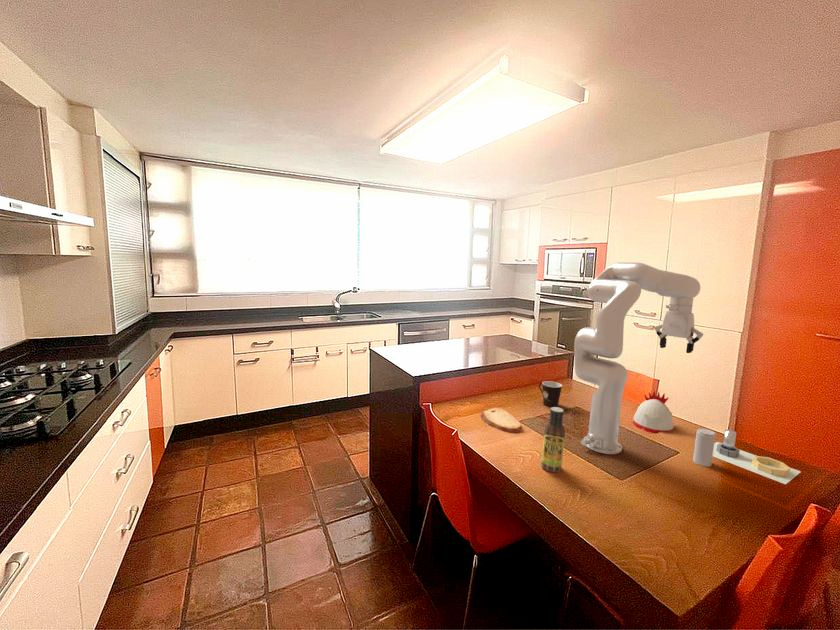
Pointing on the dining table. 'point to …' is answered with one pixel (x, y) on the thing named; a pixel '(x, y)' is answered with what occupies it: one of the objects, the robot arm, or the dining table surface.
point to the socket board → (748, 466)
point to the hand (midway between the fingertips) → (675, 350)
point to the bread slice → (501, 420)
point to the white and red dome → (654, 415)
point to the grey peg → (729, 440)
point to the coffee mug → (551, 393)
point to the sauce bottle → (553, 441)
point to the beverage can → (704, 447)
